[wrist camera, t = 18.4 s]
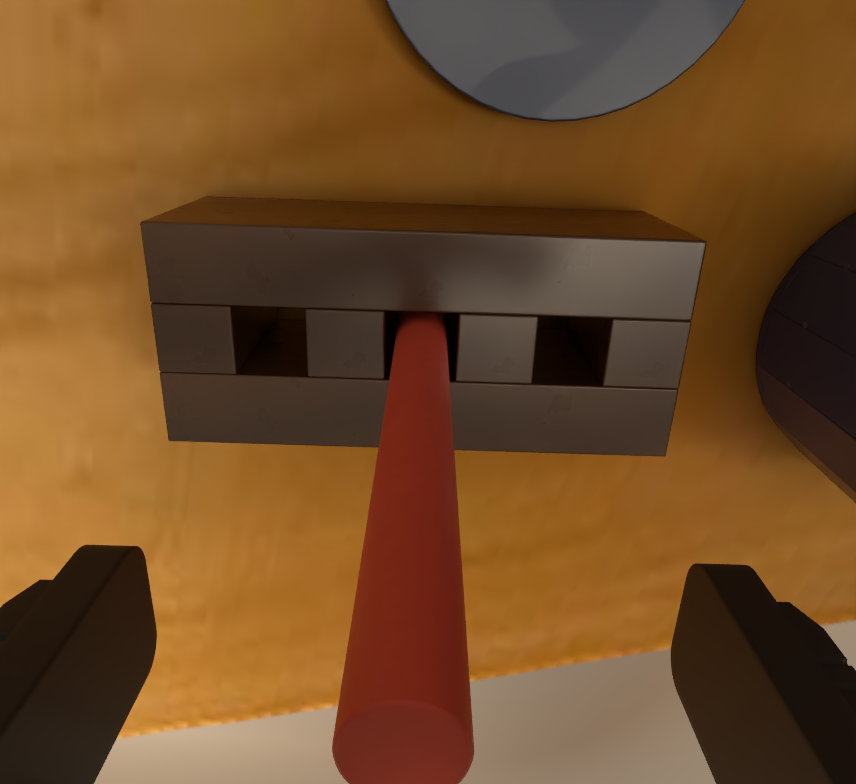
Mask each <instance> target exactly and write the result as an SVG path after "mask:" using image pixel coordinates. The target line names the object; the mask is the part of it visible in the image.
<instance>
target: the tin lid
mask: <svg viewBox="0 0 856 784" xmlns="http://www.w3.org/2000/svg"><path fill="white" fill-rule="evenodd" d="M744 1H745V0H386V3H387V5H388V7H389V10H390V12H391V13H392V15H393V17H394V19H395V20H396V22H397V24H398V26H399V28H400V29H401V31H402V33H403V35H404V36H405V37H406V39H407V40H408V41H409V43H410V44H411V45H412V47H413V48H414V49H415V51H416V52H417V53H418V55H419V56H420V57H421V58H422V59H423V60H424V61H425V62H426V63H427V64H428V66H429V67H430V68H431V69H432V70H433V71H434V72H435V73H436V74H437V75H438V76H439V77H441V78H442V79H443V80H445V81H446V82H447V83H448V84H450V85H451V86H452V87H453V88H455V89H456V90H457V91H459V92H460V93H462V94H464V95H465V96H467V97H469V98H471V99H472V100H474V101H476V102H477V103H479V104H481V105H484V106H486V107H489V108H491V109H494V110H496V111H498V112H501V113H504V114H508V115H512V116H516V117H520V118H524V119H533V120H542V121H575V120H581V119H587V118H592V117H598V116H602V115H605V114H608V113H612V112H615V111H618V110H621V109H624V108H626V107H629V106H631V105H633V104H635V103H637V102H639V101H641V100H643V99H646V98H648V97H650V96H651V95H653V94H654V93H656V92H657V91H659V90H661V89H662V88H664V87H665V86H667V85H669V84H670V83H672V82H673V81H674V80H675V79H677V78H678V77H679V76H680V75H682V74H683V73H684V72H685V71H687V70H688V69H689V68H690V67H691V66H693V65H694V64H695V63H696V62H697V61H698V60H699V59H700V58H701V57H702V56H703V55H704V54H705V53H706V52H707V51H708V50H709V49H710V48H711V47H712V45H713V44H714V43H715V42H716V41H717V40H718V38H719V37H720V36H721V34H722V33H723V32H724V31H725V29H726V28H727V27H728V26H729V24H730V23H731V22H732V20H733V19H734V17H735V16H736V14H737V12H738V11H739V9H740V8H741V6H742V4H743V3H744Z"/></svg>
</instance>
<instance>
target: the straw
mask: <svg viewBox="0 0 856 784" xmlns="http://www.w3.org/2000/svg"><path fill="white" fill-rule="evenodd" d="M332 751H333V757H334V760H335V764H336V766H337V768H338V770H339V772H340V774H341V775H342V776H343V778H344V779H345V780H346V781H347V782H348V783H349V784H458V783H460V782H461V781H462V779H463V778H464V777H465V775H466V774H467V772H468V770H469V768H470V766H471V763H472V760H473V755H474V743H473V727H472V713H471V696H470V681H469V666H468V651H467V636H466V621H465V606H464V591H463V576H462V561H461V546H460V531H459V516H458V501H457V486H456V471H455V456H454V441H453V426H452V411H451V396H450V381H449V366H448V351H447V336H446V321H445V313H441V312H411V311H400V314H399V321H398V327H397V334H396V340H395V346H394V353H393V359H392V366H391V372H390V378H389V385H388V391H387V398H386V404H385V411H384V417H383V423H382V430H381V436H380V443H379V449H378V455H377V462H376V468H375V475H374V481H373V487H372V494H371V500H370V507H369V513H368V519H367V526H366V532H365V539H364V545H363V551H362V558H361V564H360V571H359V577H358V583H357V590H356V596H355V603H354V609H353V615H352V622H351V628H350V635H349V641H348V648H347V654H346V660H345V667H344V673H343V680H342V686H341V692H340V699H339V705H338V712H337V718H336V724H335V731H334V738H333V746H332Z"/></svg>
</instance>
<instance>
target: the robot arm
mask: <svg viewBox="0 0 856 784" xmlns="http://www.w3.org/2000/svg"><path fill="white" fill-rule="evenodd" d="M156 640H157V631H156V623H155V617H154V610H153V604H152V598H151V592H150V585H149V579H148V573H147V566H146V560H145V556H144V553H143V551H142V549H141V548H140V547H138V546H110V545H84V546H82V547H80V548H79V549H78V550H77V551H76V552H75V553H74V554H73V556H72V557H71V558H70V559H69V561H68V562H67V563H66V564H65V566H64V567H63V568H62V569H61V571H60V572H59V573H58V574H57V575H56V577H55V578H54V579H53V580H39V581H37V582H36V583H34V584H33V585H32V586H30V587H29V588H27V589H26V590H24V591H23V592H21V593H20V594H18V595H17V596H15V597H14V598H12V599H11V600H9V601H8V602H6V603H5V604H3V606H2V607H1V608H0V784H94V782H95V780H96V778H97V776H98V774H99V772H100V770H101V768H102V766H103V764H104V762H105V760H106V758H107V756H108V754H109V752H110V750H111V748H112V746H113V744H114V742H115V740H116V738H117V736H118V734H119V732H120V730H121V728H122V726H123V724H124V722H125V720H126V718H127V716H128V714H129V712H130V710H131V708H132V706H133V704H134V703H135V701H136V699H137V697H138V695H139V693H140V691H141V689H142V687H143V685H144V683H145V681H146V679H147V677H148V674H149V672H150V669H151V667H152V663H153V660H154V655H155V650H156ZM671 668H672V675H673V679H674V683H675V687H676V690H677V692H678V695H679V697H680V700H681V702H682V704H683V707H684V709H685V711H686V714H687V716H688V718H689V721H690V723H691V725H692V728H693V730H694V732H695V734H696V737H697V739H698V742H699V744H700V747H701V749H702V751H703V753H704V756H705V758H706V761H707V763H708V765H709V768H710V770H711V772H712V775H713V777H714V779H715V782H716V784H856V671H855V669H854V668H853V667H852V666H848V664H847V659H846V657H845V656H844V655H843V654H842V652H841V651H840V650H839V648H838V647H837V646H836V644H835V643H834V642H833V640H832V639H831V638H830V636H829V635H828V634H827V633H826V631H825V630H824V629H823V628H822V627H821V626H819V625H818V624H817V623H816V622H814V621H813V620H812V619H810V618H809V617H808V616H806V615H805V614H804V613H803V612H801V611H800V610H799V609H797V608H796V607H795V606H793V605H792V604H791V603H790V602H776V600H775V599H774V597H773V596H772V595H771V593H770V592H769V590H768V589H767V588H766V586H765V585H764V583H763V582H762V580H761V579H760V578H759V576H758V575H757V573H756V572H755V571H754V570H753V569H752V568H751V567H750V566H748V565H729V564H693V565H692V566H691V567H690V569H689V571H688V573H687V577H686V581H685V586H684V591H683V595H682V600H681V604H680V609H679V613H678V618H677V622H676V627H675V631H674V636H673V640H672V646H671Z"/></svg>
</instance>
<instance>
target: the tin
mask: <svg viewBox="0 0 856 784" xmlns="http://www.w3.org/2000/svg"><path fill="white" fill-rule="evenodd" d="M756 371H757V379H758V386H759V389H760V393H761V396H762V400H763V402H764V404H765V406H766V409H767V411H768V413H769V415H770V416H771V418H772V419H773V421H774V422H775V424H776V425H777V426H778V428H779V429H780V430H781V431H782V432H783V433H784V434H785V435H786V436H787V437H788V438H789V439H790V441H791V442H792V443H793V444H794V446H795V447H796V448H797V449H798V450H799V451H800V452H801V453H802V454H803V455H804V456H805V457H807V458H808V459H809V460H810V461H811V462H812V463H813V464H814V465H815V466H816V467H817V468H818V469H819V470H821V471H822V472H823V473H824V474H825V475H826V476H827V477H828V478H829V479H830V480H831V481H832V482H833V483H835V484H836V485H837V486H838V487H839V488H840V489H841V490H842V491H843V492H844V493H845V494H846V495H848V496H849V497H850V498H851V499H852V500H853V501H854V502H855V503H856V214H854V215H852V216H850V217H849V218H847V219H845V220H844V221H843V222H841V223H840V224H838V225H837V226H835V227H834V228H832V229H831V230H830V231H828V232H827V233H826V234H825V235H824V236H822V237H821V238H820V239H819V240H818V241H817V242H816V243H814V244H813V245H812V246H811V247H810V248H809V249H808V250H807V251H806V252H805V254H804V255H803V256H802V257H801V258H800V259H799V260H798V261H797V262H796V263H795V265H794V266H793V267H792V269H791V270H790V271H789V273H788V274H787V275H786V277H785V278H784V279H783V281H782V283H781V285H780V286H779V288H778V290H777V291H776V293H775V295H774V296H773V298H772V301H771V303H770V305H769V307H768V310H767V312H766V314H765V317H764V320H763V324H762V327H761V330H760V334H759V340H758V346H757V358H756Z"/></svg>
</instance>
